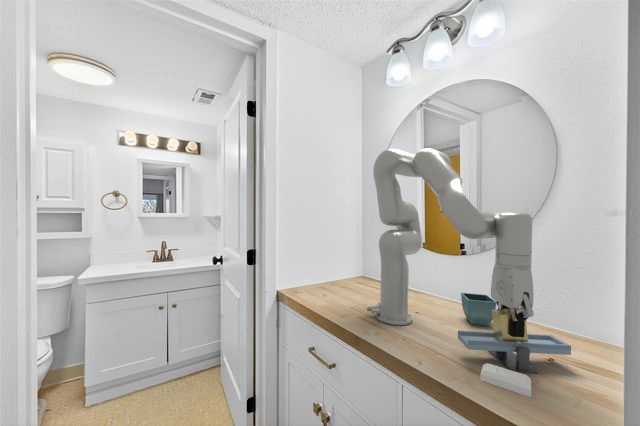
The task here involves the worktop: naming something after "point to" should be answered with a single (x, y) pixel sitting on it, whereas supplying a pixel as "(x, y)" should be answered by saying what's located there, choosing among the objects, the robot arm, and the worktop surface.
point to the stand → (515, 360)
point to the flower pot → (478, 308)
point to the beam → (513, 343)
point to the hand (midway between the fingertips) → (510, 331)
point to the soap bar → (506, 379)
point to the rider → (505, 326)
